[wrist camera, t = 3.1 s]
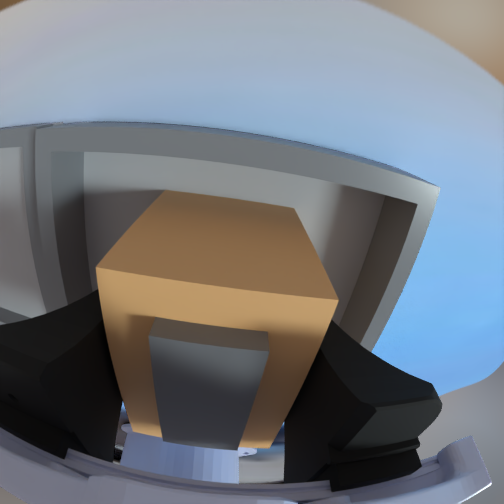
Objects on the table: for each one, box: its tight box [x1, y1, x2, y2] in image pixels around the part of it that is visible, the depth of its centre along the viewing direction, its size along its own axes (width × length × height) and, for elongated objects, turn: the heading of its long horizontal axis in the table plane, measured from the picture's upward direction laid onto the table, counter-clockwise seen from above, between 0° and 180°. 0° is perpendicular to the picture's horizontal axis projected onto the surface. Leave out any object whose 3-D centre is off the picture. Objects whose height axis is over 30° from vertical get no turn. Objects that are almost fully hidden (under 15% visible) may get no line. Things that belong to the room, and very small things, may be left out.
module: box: [96, 190, 339, 451], centre depth 9 cm, size 5×7×7 cm
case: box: [35, 122, 440, 352], centre depth 12 cm, size 14×12×3 cm
